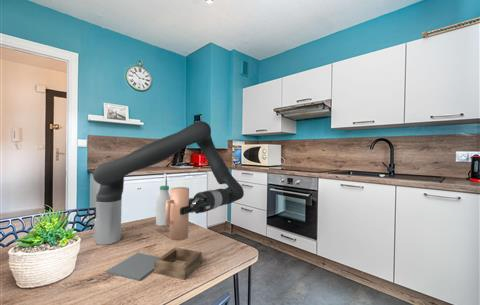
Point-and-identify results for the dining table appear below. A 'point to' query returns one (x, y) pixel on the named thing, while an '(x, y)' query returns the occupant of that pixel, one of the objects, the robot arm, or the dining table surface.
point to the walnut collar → (178, 270)
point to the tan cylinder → (177, 213)
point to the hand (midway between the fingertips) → (173, 209)
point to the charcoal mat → (134, 267)
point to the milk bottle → (162, 205)
